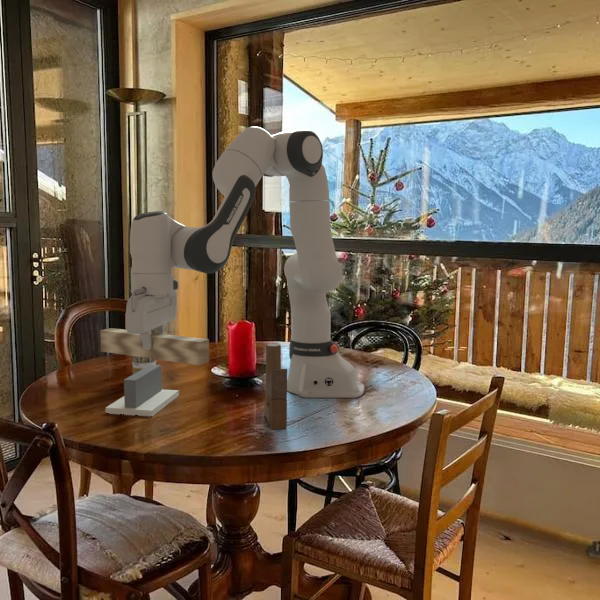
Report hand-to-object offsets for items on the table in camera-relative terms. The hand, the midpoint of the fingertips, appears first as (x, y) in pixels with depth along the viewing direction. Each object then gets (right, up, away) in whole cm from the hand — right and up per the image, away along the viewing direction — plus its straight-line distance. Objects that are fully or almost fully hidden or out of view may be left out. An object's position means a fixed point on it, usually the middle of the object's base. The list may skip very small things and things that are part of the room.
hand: (153, 346), depth 134 cm
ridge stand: (-7, -16, +20) cm, 27 cm away
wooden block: (+27, -19, +8) cm, 34 cm away
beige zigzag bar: (0, -2, 0) cm, 2 cm away
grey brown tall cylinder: (-13, -14, +44) cm, 48 cm away
